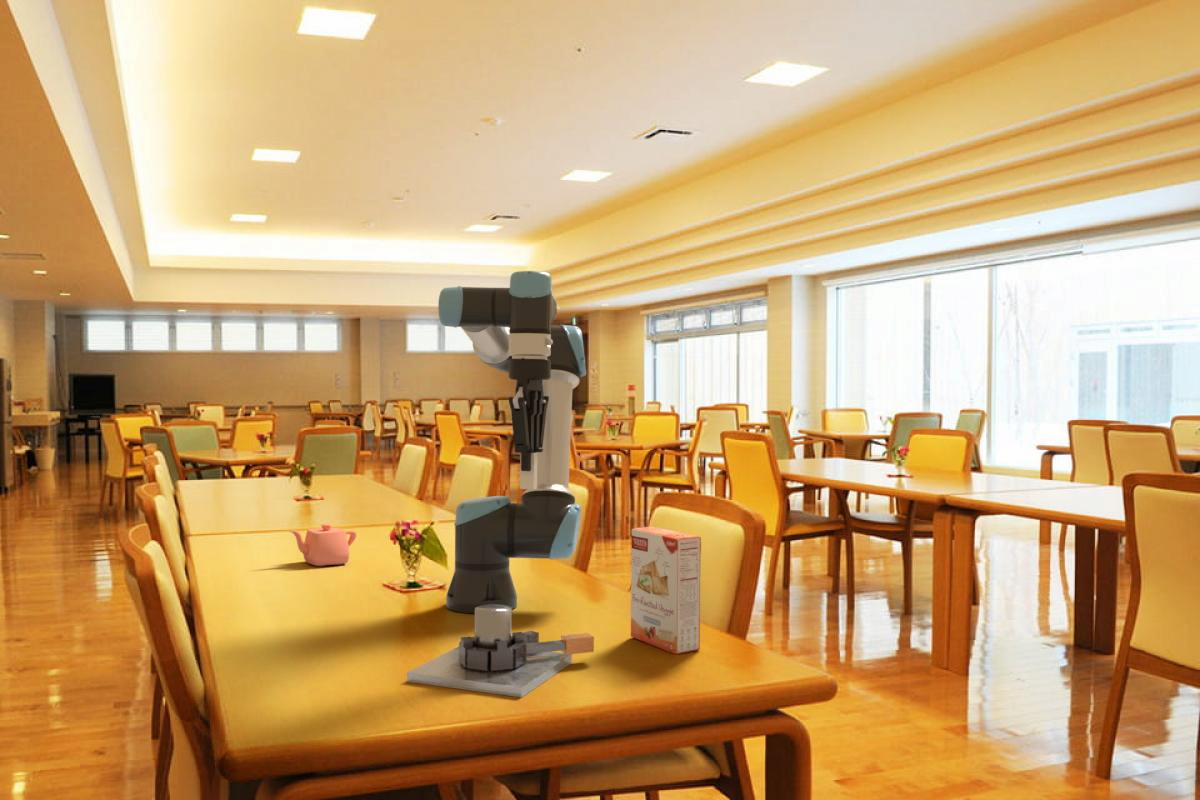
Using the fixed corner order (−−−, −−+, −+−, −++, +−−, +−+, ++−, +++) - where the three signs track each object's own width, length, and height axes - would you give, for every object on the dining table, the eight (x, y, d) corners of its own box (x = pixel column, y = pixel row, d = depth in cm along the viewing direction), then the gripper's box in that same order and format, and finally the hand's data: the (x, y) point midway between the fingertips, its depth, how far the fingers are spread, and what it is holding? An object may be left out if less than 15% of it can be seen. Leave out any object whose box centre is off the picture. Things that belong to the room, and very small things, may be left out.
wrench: (470, 673, 151) (470, 646, 151) (453, 655, 160) (454, 630, 160) (602, 659, 160) (602, 633, 160) (579, 643, 169) (579, 619, 169)
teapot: (363, 564, 252) (364, 524, 252) (295, 570, 242) (295, 529, 242) (348, 557, 262) (349, 519, 262) (282, 563, 252) (282, 524, 252)
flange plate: (407, 681, 152) (407, 615, 152) (467, 650, 171) (468, 591, 170) (521, 697, 145) (522, 628, 145) (571, 662, 164) (572, 601, 163)
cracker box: (628, 638, 181) (629, 527, 180) (653, 634, 184) (655, 525, 184) (674, 655, 169) (676, 537, 169) (701, 651, 172) (702, 535, 172)
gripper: (534, 357, 165) (533, 494, 165) (562, 358, 177) (561, 485, 178) (495, 357, 167) (493, 491, 168) (525, 358, 179) (524, 483, 180)
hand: (528, 488), depth 173 cm, fingers closed
